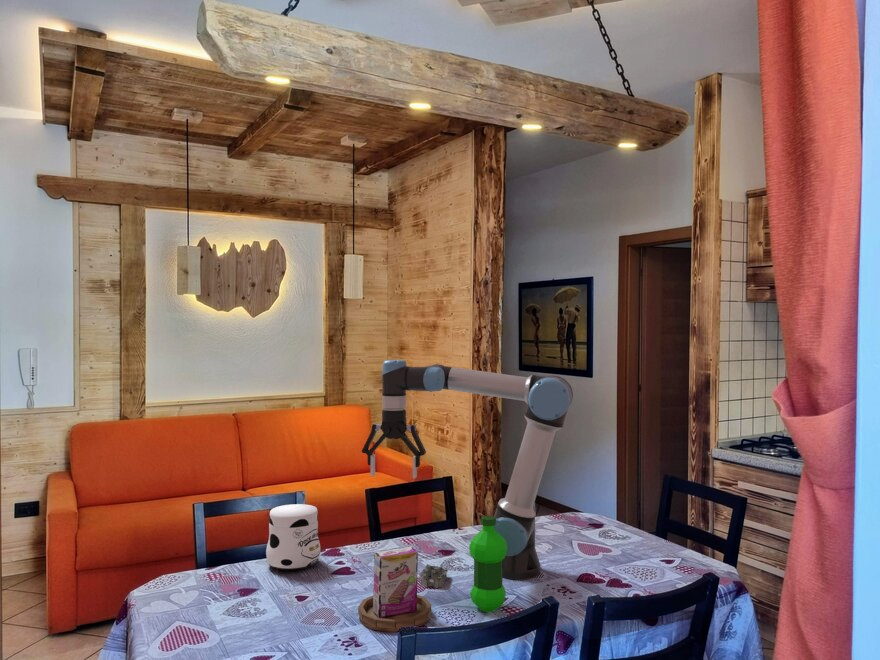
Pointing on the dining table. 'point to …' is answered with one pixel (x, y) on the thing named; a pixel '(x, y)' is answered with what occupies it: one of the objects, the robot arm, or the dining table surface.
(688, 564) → the dining table surface
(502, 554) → the plastic bottle
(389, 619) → the tray
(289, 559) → the milk container
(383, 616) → the candy bar box
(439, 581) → the egg carton
